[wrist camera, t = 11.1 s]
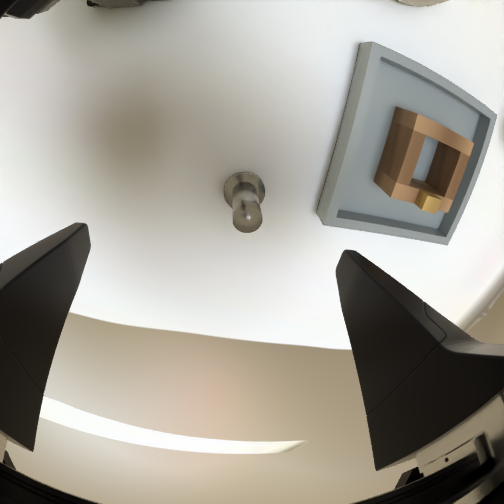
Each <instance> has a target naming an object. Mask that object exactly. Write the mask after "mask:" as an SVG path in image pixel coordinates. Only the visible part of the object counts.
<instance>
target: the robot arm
mask: <svg viewBox="0 0 504 504" xmlns="http://www.w3.org/2000/svg"><path fill="white" fill-rule="evenodd" d="M59 1H60V0H0V19H1V18H2V17H13V18H17V19H30V18H31V17H32V16H34V15H35V14H39V13H42V12H45V11H47V10H49V9H50V8H51V7H52V6H53V5H55V4H56V3H57V2H59ZM145 1H151V0H87V5H88V6H90V7H98V6H104V7H107V8H116V7H124V6H134V5H142V4H143V3H145ZM92 2H94V3H93V4H92ZM90 248H91V243H90V237H89V231H88V226H87V224H86V223H74V224H72V225H70V226H68V227H66V228H64V229H62V230H60V231H58V232H56V233H54V234H52V235H50V236H48V237H47V238H45V239H43V240H41V241H39V242H37V243H35V244H34V245H32V246H30V247H28V248H26V249H25V250H23V251H21V252H19V253H18V254H16V255H14V256H12V257H11V258H9V259H7V260H6V261H4V262H3V263H1V264H0V504H101V503H98V502H94V501H91V500H88V499H84V498H81V497H78V496H75V495H72V494H70V493H67V492H64V491H62V490H59V489H56V488H54V487H51V486H49V485H47V484H44V483H42V482H40V481H37V480H35V479H33V478H31V477H29V476H27V475H25V474H23V473H21V472H19V471H17V470H16V469H15V467H14V465H13V463H12V461H11V459H10V457H9V454H8V452H7V451H6V450H5V448H6V444H7V440H9V441H11V442H13V443H14V444H17V445H19V446H21V447H23V448H25V449H27V450H29V451H32V452H33V450H34V444H35V438H36V431H37V425H38V420H39V415H40V410H41V405H42V400H43V396H44V394H43V393H44V390H45V387H46V382H47V378H48V375H49V371H50V367H51V364H52V360H53V357H54V354H55V350H56V347H57V344H58V341H59V338H60V335H61V332H62V329H63V326H64V323H65V320H66V317H67V315H68V312H69V309H70V307H71V304H72V301H73V299H74V296H75V294H76V291H77V289H78V286H79V283H80V280H81V277H82V274H83V270H84V267H85V264H86V261H87V258H88V255H89V252H90ZM336 279H337V284H338V290H339V296H340V303H341V308H342V312H343V316H344V320H345V324H346V328H347V331H348V335H349V339H350V343H351V347H352V351H353V356H354V360H355V364H356V368H357V373H358V377H359V382H360V386H361V391H362V396H363V401H364V406H365V411H366V415H367V422H368V427H369V433H370V439H371V445H372V451H373V457H374V464H375V469H376V471H379V470H382V469H385V468H388V467H391V466H394V465H397V464H400V463H403V462H405V461H408V460H411V459H414V458H416V461H417V465H418V467H416V468H414V469H411V470H409V471H407V472H404V473H403V474H402V475H401V477H400V479H399V481H398V483H397V485H396V487H395V489H394V490H392V491H389V492H386V493H383V494H380V495H377V496H374V497H371V498H368V499H365V500H361V501H358V502H354V503H351V504H504V344H486V343H482V342H479V341H477V340H476V339H474V338H472V337H471V336H470V335H468V334H467V333H466V332H464V331H463V330H462V329H460V328H459V327H457V326H456V325H455V324H453V323H452V322H451V321H449V320H448V319H447V318H445V317H444V316H442V315H441V314H440V313H438V312H437V311H436V310H435V309H433V308H432V307H431V306H429V305H428V304H427V303H426V302H423V300H422V299H420V298H419V297H418V296H416V295H415V294H414V293H413V292H411V291H410V290H409V289H407V288H406V287H405V286H403V285H402V284H401V283H399V282H398V281H397V280H395V279H394V278H393V277H391V276H390V275H389V274H387V273H386V272H384V271H383V270H382V269H380V268H379V267H378V266H376V265H375V264H373V263H372V262H371V261H369V260H368V259H366V258H365V257H364V256H362V255H361V254H359V253H358V252H356V251H354V250H344V251H343V253H342V255H341V257H340V260H339V262H338V265H337V267H336Z"/></svg>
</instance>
